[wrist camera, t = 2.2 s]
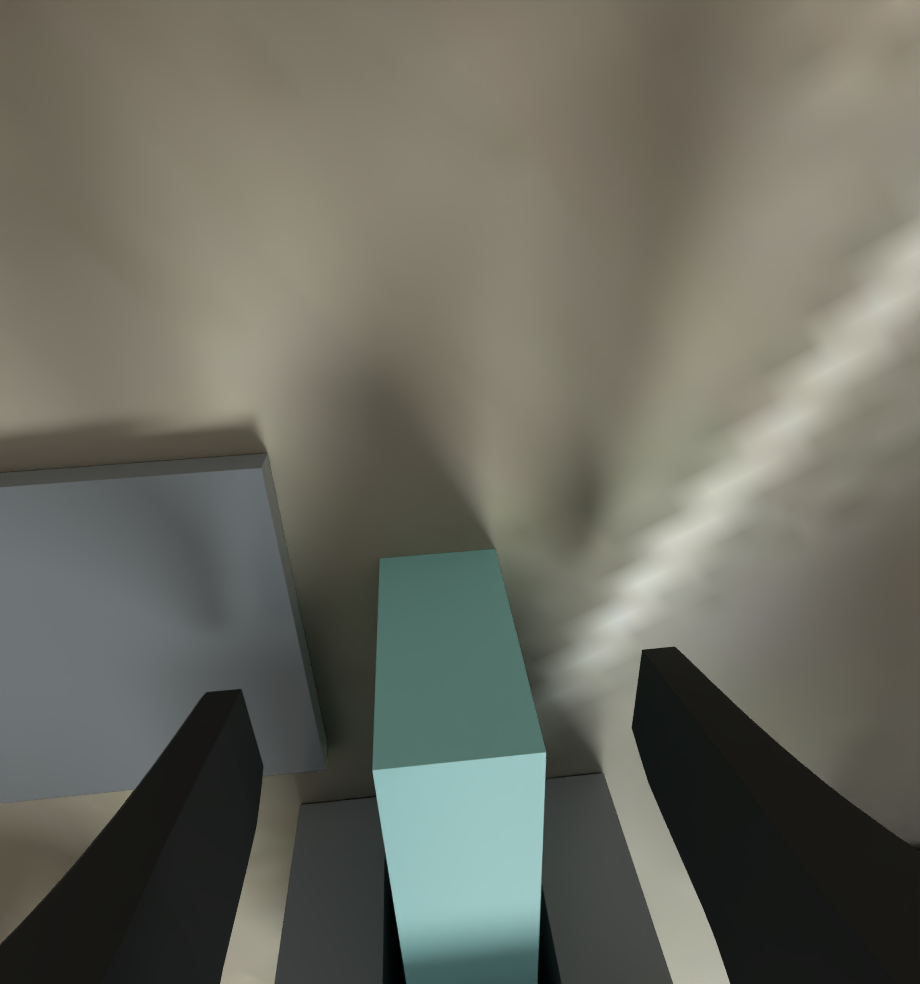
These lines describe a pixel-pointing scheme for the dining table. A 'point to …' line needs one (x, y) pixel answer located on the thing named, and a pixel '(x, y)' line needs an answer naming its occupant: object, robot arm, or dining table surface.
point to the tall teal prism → (458, 771)
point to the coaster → (144, 621)
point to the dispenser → (563, 907)
